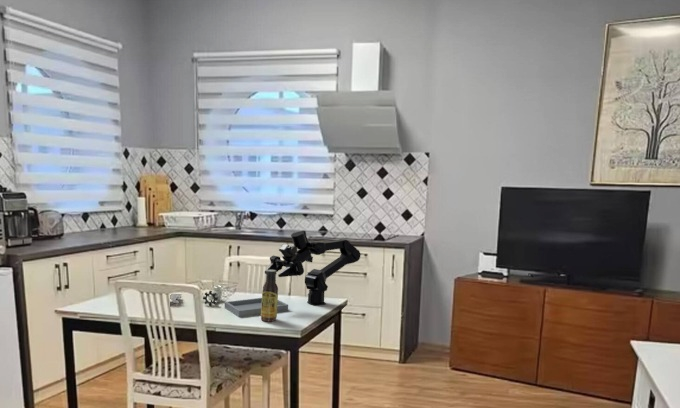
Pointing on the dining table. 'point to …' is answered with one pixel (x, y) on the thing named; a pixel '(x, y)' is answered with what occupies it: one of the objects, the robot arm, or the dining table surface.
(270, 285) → the sauce bottle
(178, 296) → the penguin figurine
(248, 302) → the tray
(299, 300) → the dining table surface
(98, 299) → the dining table surface
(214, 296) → the valve
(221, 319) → the dining table surface
